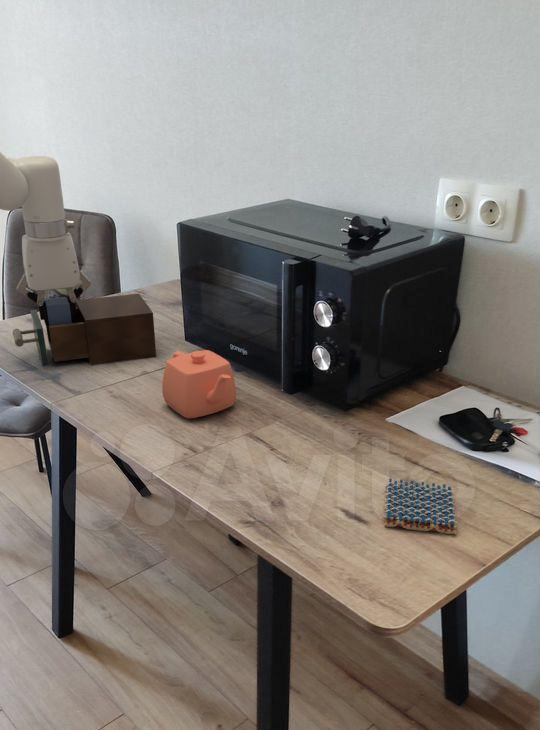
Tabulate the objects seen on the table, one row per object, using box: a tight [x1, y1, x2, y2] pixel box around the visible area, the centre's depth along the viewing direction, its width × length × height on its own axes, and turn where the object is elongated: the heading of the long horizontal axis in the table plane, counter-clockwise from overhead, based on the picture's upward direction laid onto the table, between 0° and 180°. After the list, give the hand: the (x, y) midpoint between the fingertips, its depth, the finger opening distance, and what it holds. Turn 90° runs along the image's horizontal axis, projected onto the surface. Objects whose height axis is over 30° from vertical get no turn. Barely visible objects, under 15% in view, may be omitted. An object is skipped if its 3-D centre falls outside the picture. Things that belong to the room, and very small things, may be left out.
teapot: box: [161, 349, 237, 419], centre depth 126 cm, size 12×18×10 cm, turn 37°
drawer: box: [12, 307, 89, 367], centre depth 144 cm, size 17×11×8 cm
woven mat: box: [382, 478, 459, 536], centre depth 102 cm, size 10×11×2 cm
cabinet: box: [76, 293, 157, 366], centre depth 148 cm, size 14×13×10 cm
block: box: [44, 297, 72, 326], centre depth 142 cm, size 4×4×4 cm
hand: (59, 320), depth 143 cm, fingers closed on block, 4 cm apart
